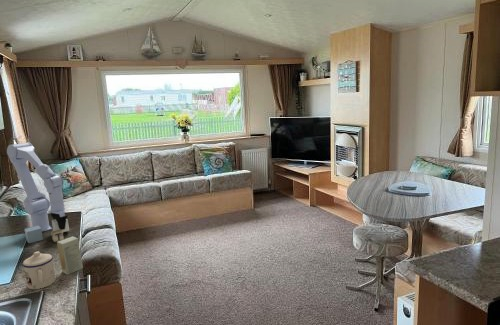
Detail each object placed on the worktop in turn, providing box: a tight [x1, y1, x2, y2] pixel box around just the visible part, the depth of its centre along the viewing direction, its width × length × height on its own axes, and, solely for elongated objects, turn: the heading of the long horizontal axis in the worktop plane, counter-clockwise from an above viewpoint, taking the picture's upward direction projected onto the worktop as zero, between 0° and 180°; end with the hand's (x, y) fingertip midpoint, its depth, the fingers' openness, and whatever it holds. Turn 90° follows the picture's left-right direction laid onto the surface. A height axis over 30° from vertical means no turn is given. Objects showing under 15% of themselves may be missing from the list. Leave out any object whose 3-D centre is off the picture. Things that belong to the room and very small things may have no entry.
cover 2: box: [51, 218, 70, 233], centre depth 176 cm, size 6×6×6 cm
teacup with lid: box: [22, 250, 56, 290], centre depth 126 cm, size 12×9×12 cm
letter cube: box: [50, 229, 65, 243], centre depth 168 cm, size 4×4×4 cm
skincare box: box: [56, 235, 84, 275], centre depth 136 cm, size 6×4×12 cm
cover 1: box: [24, 226, 44, 244], centre depth 169 cm, size 6×6×6 cm
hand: (60, 227), depth 177 cm, fingers open, 6 cm apart
